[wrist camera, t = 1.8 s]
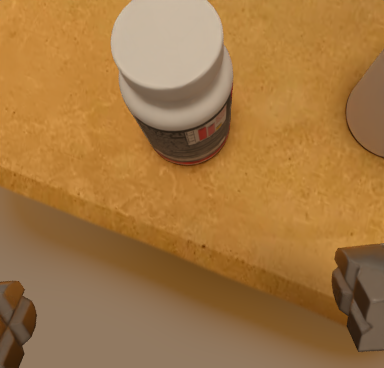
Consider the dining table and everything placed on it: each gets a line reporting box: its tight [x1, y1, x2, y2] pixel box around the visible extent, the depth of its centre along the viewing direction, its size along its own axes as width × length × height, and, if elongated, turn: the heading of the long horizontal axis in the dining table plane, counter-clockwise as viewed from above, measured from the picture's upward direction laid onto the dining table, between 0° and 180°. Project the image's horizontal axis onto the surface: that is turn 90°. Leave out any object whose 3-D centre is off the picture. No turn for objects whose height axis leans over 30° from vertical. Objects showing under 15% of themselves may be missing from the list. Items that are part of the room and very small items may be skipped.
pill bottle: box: [111, 0, 233, 165], centre depth 18 cm, size 6×6×10 cm
